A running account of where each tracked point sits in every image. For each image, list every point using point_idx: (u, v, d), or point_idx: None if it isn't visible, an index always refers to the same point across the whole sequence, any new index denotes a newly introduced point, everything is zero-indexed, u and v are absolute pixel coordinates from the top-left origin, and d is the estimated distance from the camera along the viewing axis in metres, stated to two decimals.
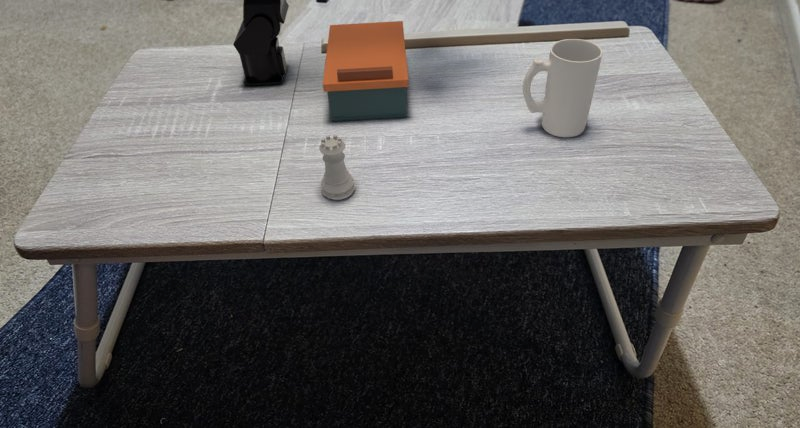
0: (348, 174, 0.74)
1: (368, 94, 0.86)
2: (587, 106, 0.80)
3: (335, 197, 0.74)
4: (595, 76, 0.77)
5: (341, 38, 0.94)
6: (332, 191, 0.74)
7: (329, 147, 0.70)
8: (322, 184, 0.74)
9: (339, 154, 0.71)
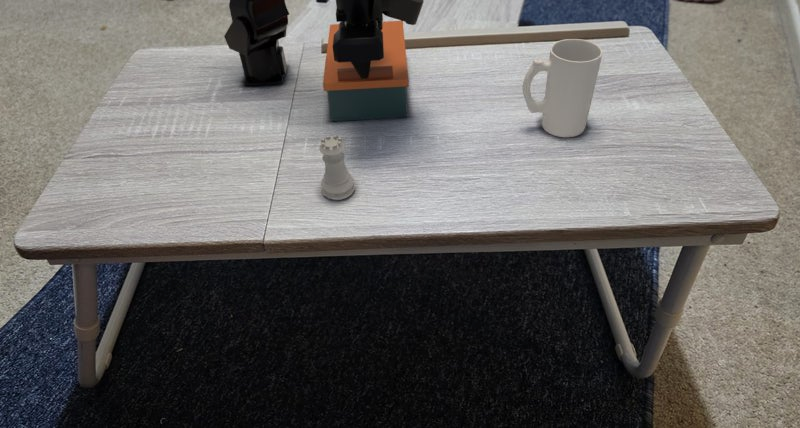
0: (348, 174, 0.74)
1: (368, 94, 0.86)
2: (587, 106, 0.80)
3: (335, 197, 0.74)
4: (595, 76, 0.77)
5: None
6: (332, 191, 0.74)
7: (329, 147, 0.70)
8: (322, 184, 0.74)
9: (339, 154, 0.71)
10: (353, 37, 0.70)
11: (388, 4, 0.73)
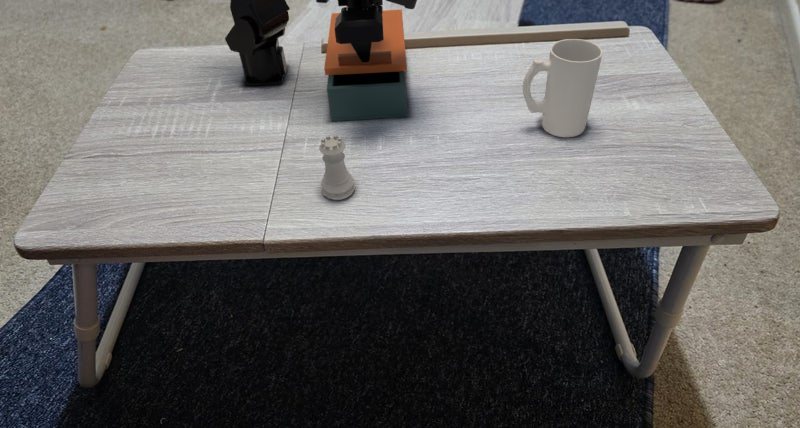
0: (348, 174, 0.74)
1: (368, 94, 0.86)
2: (587, 106, 0.80)
3: (335, 197, 0.74)
4: (595, 76, 0.77)
5: None
6: (332, 191, 0.74)
7: (329, 147, 0.70)
8: (322, 184, 0.74)
9: (339, 154, 0.71)
10: (354, 19, 0.73)
11: None
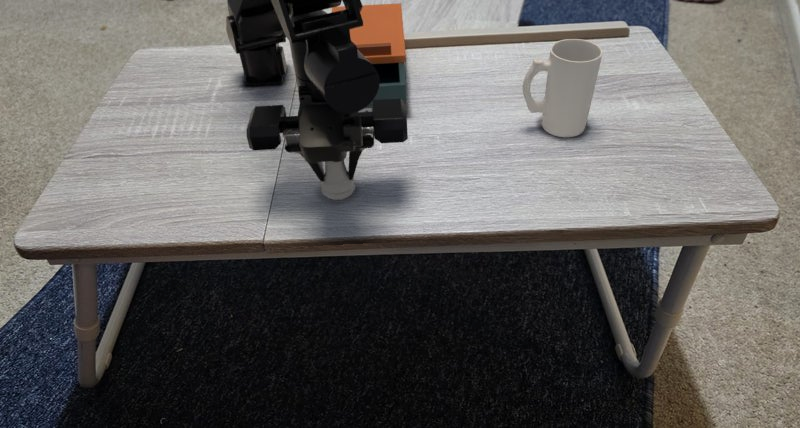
0: (348, 174, 0.74)
1: None
2: (587, 106, 0.80)
3: (335, 197, 0.74)
4: (595, 76, 0.77)
5: None
6: (332, 191, 0.74)
7: None
8: (322, 184, 0.74)
9: None
10: (256, 114, 0.68)
11: None
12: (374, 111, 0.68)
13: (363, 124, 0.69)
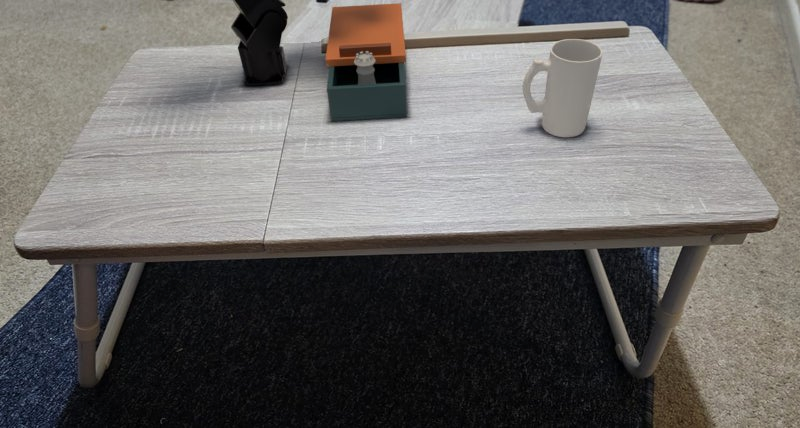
0: None
1: (368, 94, 0.86)
2: (587, 106, 0.80)
3: None
4: (595, 76, 0.77)
5: (343, 18, 1.00)
6: None
7: (362, 59, 0.85)
8: None
9: (370, 66, 0.86)
10: None
11: None
12: None
13: None
